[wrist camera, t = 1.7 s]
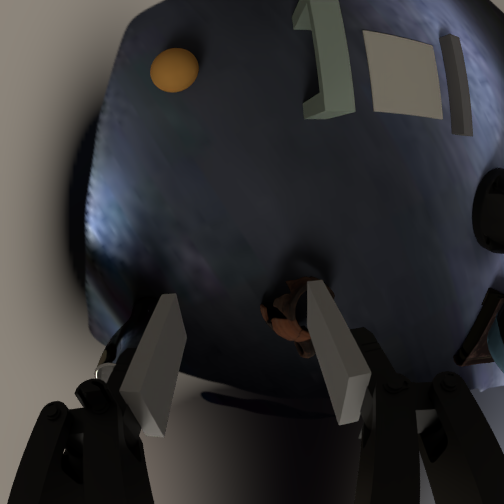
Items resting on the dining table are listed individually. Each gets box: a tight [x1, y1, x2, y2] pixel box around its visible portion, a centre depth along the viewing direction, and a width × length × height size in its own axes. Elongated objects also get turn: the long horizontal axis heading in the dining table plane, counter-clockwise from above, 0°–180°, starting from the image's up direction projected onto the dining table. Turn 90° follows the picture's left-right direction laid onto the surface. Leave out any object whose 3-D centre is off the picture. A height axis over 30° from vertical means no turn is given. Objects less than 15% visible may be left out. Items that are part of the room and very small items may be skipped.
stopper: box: [439, 34, 473, 136], centre depth 28 cm, size 2×16×3 cm, turn 5°
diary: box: [453, 288, 504, 366], centre depth 45 cm, size 19×25×5 cm
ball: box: [150, 48, 199, 92], centre depth 27 cm, size 6×6×6 cm
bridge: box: [292, 0, 355, 119], centre depth 25 cm, size 3×14×9 cm, turn 5°
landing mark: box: [363, 30, 443, 120], centre depth 29 cm, size 12×12×1 cm
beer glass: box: [95, 296, 159, 383], centre depth 34 cm, size 7×7×15 cm
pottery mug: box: [260, 277, 335, 358], centre depth 39 cm, size 12×10×8 cm
